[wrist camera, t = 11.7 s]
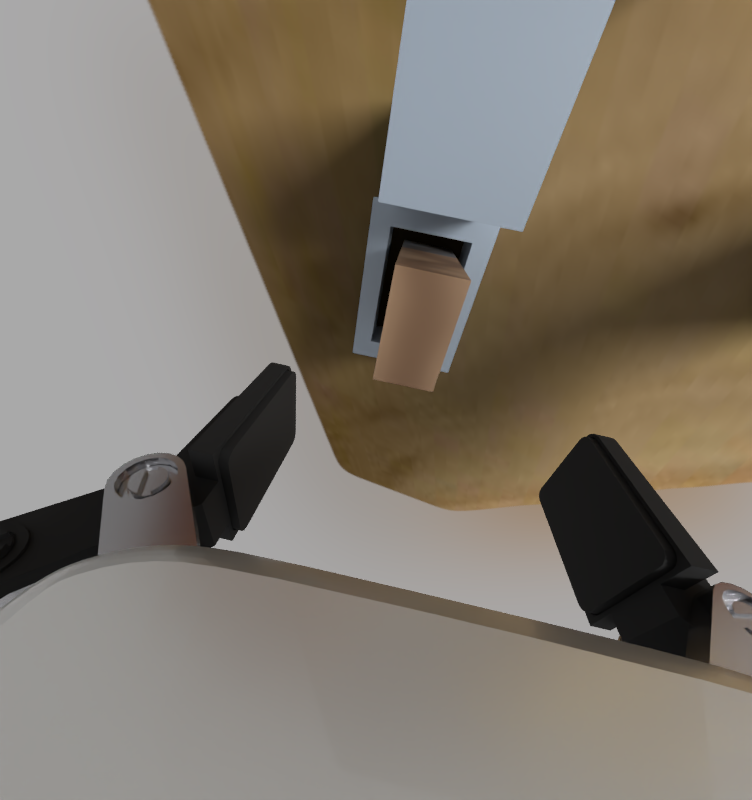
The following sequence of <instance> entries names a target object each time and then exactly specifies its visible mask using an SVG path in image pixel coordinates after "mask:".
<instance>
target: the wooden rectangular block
mask: <svg viewBox="0 0 752 800" xmlns="http://www.w3.org/2000/svg"><path fill="white" fill-rule="evenodd" d="M470 283H471V279H470V278H469V276H468V275H467V273H466V272H465V270H464V269H463V267H462V266H461V264H460V262H459V261H458V259H457V258H456V256H455V255H454V253H453V252H452V250H451V249H449V248H444V247H439V246H435V245H430V244H425V243H421V242H416V241H411V240H407V239H405V240H404V243H403V245H402V248H401V251H400V253H399V256H398V259H397V261H396V264H395V268H394V274H393V279H392V284H391V289H390V294H389V299H388V304H387V309H386V314H385V319H384V324H383V330H382V335H381V340H380V345H379V350H378V355H377V360H376V365H375V370H374V375H373V379H374V380H379V381H384V382H388V383H393V384H398V385H402V386H407V387H412V388H416V389H421V390H425V391H430V392H433V390H434V387H435V384H436V381H437V378H438V376H439V373H440V370H441V367H442V364H443V361H444V358H445V355H446V353H447V350H448V347H449V344H450V341H451V338H452V335H453V332H454V329H455V327H456V324H457V321H458V318H459V315H460V312H461V309H462V306H463V304H464V301H465V298H466V295H467V292H468V289H469V286H470Z"/></svg>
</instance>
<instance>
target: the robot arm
mask: <svg viewBox="0 0 752 800" xmlns="http://www.w3.org/2000/svg"><path fill="white" fill-rule="evenodd" d="M295 424H296V374H295V372H292V371H291V368H290V367H289V366H286V365H281V364H277V363H270V364H269V365H268V366H267V367H266V368H265V369H264V370H263V372H262V373H260V375H259V376H258V377H257V378H256V379H255V380H254V381H253V382H252V383H251V384H250V385H249V386H248V387H247V388H246V389H245V390H244V391H243V392H242V393H241V394H240V395H239V396H236V397H234V398H233V399H231V400H230V402H229V403H227V405H226V406H225V407H224V408H223V409H222V410H221V411H220V412H219V413H218V414H217V415H216V416H215V417H214V418H213V419H212V420H211V421H210V422H209V423H208V424H207V425H206V426H205V427H204V428H203V429H202V430H201V431H200V432H199V433H198V434H197V435H196V436H195V437H194V438H193V439H192V440H191V441H190V442H189V443H188V444H187V445H186V446H185V447H184V448H183V449H182V450H181V452H179V454H178V455H177V456H175V455H172V454H169V453H154V454H147V455H144V456H141V457H138V458H135V459H133V460H131V461H129V462H127V463H125V464H123V465H122V466H121V467H120V468H118V469H117V470H116V471H114V472H113V474H112V475H111V476H110V477H109V479H108V480H107V483H106V485H105V488H104V489H102V490H98V491H95V492H92V493H89V494H86V495H83V496H79V497H76V498H73V499H70V500H67V501H63V502H61V503H57V504H54V505H51V506H48V507H44V508H41V509H38V510H35V511H32V512H28V513H25V514H22V515H19V516H16V517H13V518H10V519H6V520H3V521H0V800H752V593H750V592H748V591H746V590H745V589H743V588H741V587H738V586H736V585H733V584H730V583H725V582H720V583H718V584H715V585H713V586H710V584H709V583H708V582H707V580H706V578H708V577H710V576H712V575H714V574H716V573H717V572H718V571H717V569H716V568H715V567H714V566H713V564H712V563H711V562H710V560H709V559H708V558H707V557H706V555H705V554H704V553H703V551H702V550H701V549H700V548H699V546H698V545H697V544H696V543H695V541H694V540H693V539H692V538H691V536H690V535H689V534H688V532H687V531H686V530H685V528H684V527H683V526H682V525H681V523H680V522H679V521H678V519H677V518H676V517H675V516H674V514H673V513H672V512H671V510H670V509H669V508H668V507H667V505H666V504H665V503H664V502H663V500H662V499H661V498H660V496H659V495H658V494H657V493H656V491H655V490H654V489H653V487H652V486H651V485H650V484H649V482H648V481H647V480H646V478H645V477H644V476H643V475H642V473H641V472H640V471H639V469H638V468H637V467H636V466H635V464H634V463H633V462H632V461H631V459H630V458H629V457H628V455H627V454H626V453H625V452H624V450H623V449H622V448H621V446H620V445H619V444H618V443H617V441H616V440H615V439H613V438H610V437H605V436H601V435H596V434H590V435H588V436H587V437H583V438H581V439H580V440H579V442H578V443H577V444H576V445H575V447H574V448H573V449H572V450H571V452H570V453H569V454H568V455H567V457H566V458H565V459H564V460H563V462H562V463H561V464H560V466H559V467H558V468H557V469H556V471H555V472H554V473H553V474H552V476H551V477H550V478H549V479H548V481H547V482H546V483H545V484H544V486H543V487H542V488H541V490H540V493H539V499H540V502H541V505H542V507H543V510H544V513H545V515H546V518H547V520H548V523H549V526H550V528H551V531H552V534H553V537H554V539H555V542H556V545H557V547H558V550H559V553H560V555H561V558H562V561H563V564H564V566H565V569H566V572H567V574H568V576H569V579H570V582H571V585H572V588H573V590H574V593H575V596H576V598H577V601H578V603H579V606H580V607H581V609H582V610H583V611H585V613H586V616H587V618H588V621H589V623H590V626H594V627H598V628H602V629H607V630H612V629H614V628H615V627H617V629H618V632H619V634H620V636H619V639H618V640H614V639H610V638H605V637H602V636H597V635H593V634H589V633H585V632H581V631H577V630H573V629H569V628H565V627H560V626H556V625H552V624H548V623H544V622H540V621H536V620H531V619H527V618H523V617H519V616H514V615H510V614H506V613H502V612H498V611H493V610H489V609H485V608H481V607H477V606H472V605H468V604H464V603H460V602H456V601H452V600H447V599H443V598H439V597H435V596H430V595H426V594H422V593H418V592H414V591H409V590H405V589H400V588H396V587H392V586H388V585H383V584H379V583H375V582H371V581H366V580H362V579H358V578H353V577H349V576H345V575H340V574H336V573H331V572H328V571H323V570H319V569H314V568H310V567H306V566H301V565H297V564H292V563H286V562H282V561H278V560H273V559H268V558H264V557H259V556H254V555H249V554H245V553H239V552H234V551H228V550H221V549H215V548H211V547H213V546H215V545H216V543H217V541H218V539H219V538H223V539H227V540H231V541H232V540H233V539H234V537H235V535H236V533H237V532H238V530H241V531H243V530H244V529H245V528H246V527H247V525H248V523H249V522H250V520H251V518H252V516H253V514H254V513H255V511H256V509H257V507H258V505H259V503H260V502H261V500H262V498H263V496H264V494H265V492H266V490H267V489H268V487H269V485H270V483H271V481H272V480H273V478H274V476H275V474H276V472H277V471H278V469H279V467H280V465H281V464H282V461H283V460H284V458H285V456H286V454H287V453H288V451H289V449H290V447H291V445H292V444H293V441H294V438H295V430H296V428H295V427H296V426H295Z"/></svg>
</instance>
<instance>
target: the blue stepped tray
mask: <svg viewBox="0 0 752 800" xmlns="http://www.w3.org/2000/svg"><path fill="white" fill-rule="evenodd" d="M614 3H615V0H407V2H406V9H405V16H404V23H403V30H402V37H401V44H400V51H399V58H398V65H397V72H396V79H395V86H394V93H393V100H392V107H391V114H390V121H389V128H388V135H387V142H386V149H385V156H384V163H383V170H382V177H381V184H380V191H379V197H373V204H372V212H371V219H370V227H369V234H368V242H367V249H366V257H365V264H364V272H363V279H362V286H361V294H360V301H359V309H358V316H357V324H356V331H355V339H354V346H353V353H356V354H361V355H366V356H370V357H375V358H377V355H378V350H379V345H380V340H381V335H382V330H383V327H381V326H376V325H377V319H378V314H379V308H380V302H381V297H382V291H383V285H384V279H385V274H386V268H387V262H388V257H389V251H390V245H391V240H392V234H393V228H394V227H397V228H402V229H407V230H412V231H416V232H421V233H426V234H431V235H436V236H440V237H445V238H450V239H455V240H460V241H464V243H463V247H462V250H461V253H460V256H459V260H458V261H459V262H460V264H461V266H462V267H463V269H464V270H465V272H466V273H467V275H468V276H469V278H470V279H471V283H470V286H469V289H468V292H467V295H466V298H465V301H464V304H463V306H462V309H461V312H460V315H459V318H458V321H457V324H456V327H455V329H454V332H453V335H452V338H451V341H450V344H449V347H448V350H447V353H446V355H445V358H444V361H443V364H442V367H441V370H440V371H442V372H447V373H448V371H449V369H450V366H451V363H452V360H453V357H454V355H455V352H456V349H457V346H458V343H459V341H460V338H461V335H462V332H463V330H464V327H465V324H466V321H467V318H468V316H469V313H470V310H471V307H472V305H473V302H474V299H475V296H476V293H477V291H478V288H479V285H480V282H481V280H482V277H483V274H484V271H485V268H486V266H487V263H488V260H489V257H490V255H491V252H492V249H493V246H494V243H495V241H496V238H497V235H498V232H499V230H500V227H502V228H507V229H511V230H516V231H521V232H523V230H524V227H525V225H526V222H527V220H528V217H529V215H530V212H531V210H532V207H533V205H534V202H535V200H536V197H537V195H538V192H539V190H540V187H541V185H542V182H543V180H544V177H545V175H546V172H547V170H548V167H549V165H550V162H551V160H552V157H553V155H554V152H555V150H556V147H557V145H558V142H559V140H560V137H561V135H562V132H563V130H564V127H565V125H566V122H567V120H568V118H569V115H570V113H571V110H572V108H573V105H574V103H575V100H576V98H577V95H578V93H579V90H580V88H581V85H582V83H583V80H584V78H585V75H586V73H587V70H588V68H589V65H590V63H591V60H592V58H593V55H594V53H595V50H596V48H597V45H598V43H599V40H600V38H601V35H602V33H603V30H604V28H605V25H606V23H607V20H608V18H609V15H610V13H611V10H612V8H613V5H614Z"/></svg>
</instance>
